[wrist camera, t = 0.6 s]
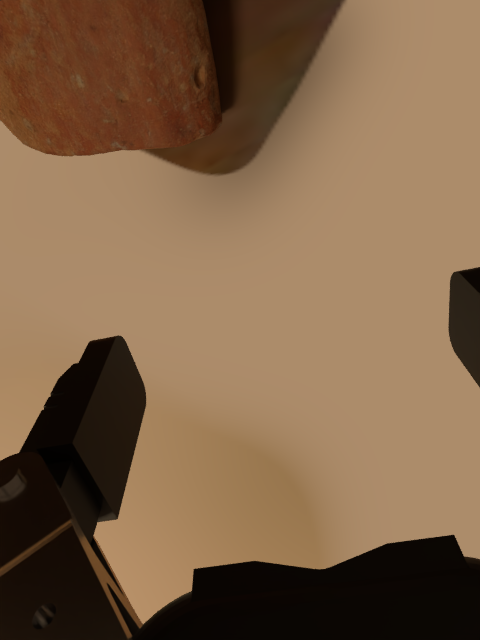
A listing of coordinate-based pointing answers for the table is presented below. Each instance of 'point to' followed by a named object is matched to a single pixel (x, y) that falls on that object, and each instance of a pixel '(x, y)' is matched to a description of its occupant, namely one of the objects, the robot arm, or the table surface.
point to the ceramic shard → (106, 74)
